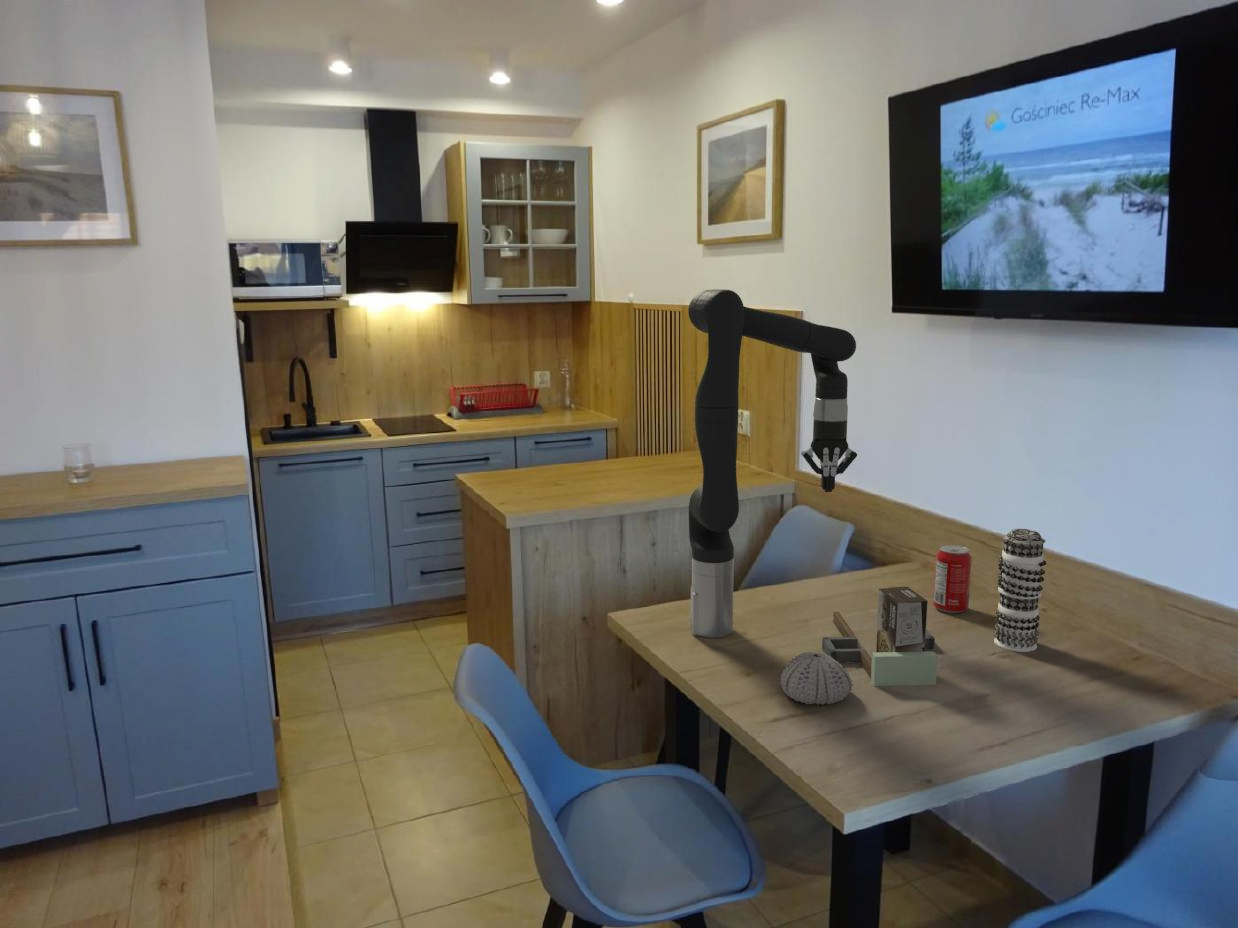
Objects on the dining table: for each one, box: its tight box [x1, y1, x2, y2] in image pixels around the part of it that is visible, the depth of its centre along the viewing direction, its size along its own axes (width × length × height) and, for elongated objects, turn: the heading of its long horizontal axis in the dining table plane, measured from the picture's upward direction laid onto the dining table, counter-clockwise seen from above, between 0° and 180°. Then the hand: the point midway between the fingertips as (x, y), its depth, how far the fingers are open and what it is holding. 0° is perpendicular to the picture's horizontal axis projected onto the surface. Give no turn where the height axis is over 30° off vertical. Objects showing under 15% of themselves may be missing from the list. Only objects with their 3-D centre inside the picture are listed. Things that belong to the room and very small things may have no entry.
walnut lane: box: [832, 611, 872, 679], centre depth 187 cm, size 11×32×2 cm, turn 1°
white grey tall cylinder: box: [993, 528, 1047, 653], centre depth 187 cm, size 9×9×25 cm
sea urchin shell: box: [780, 651, 854, 706], centre depth 167 cm, size 13×14×8 cm
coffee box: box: [875, 586, 928, 652], centre depth 176 cm, size 9×6×16 cm
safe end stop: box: [870, 651, 938, 687], centre depth 171 cm, size 12×2×6 cm, turn 90°
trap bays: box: [821, 628, 935, 664], centre depth 187 cm, size 23×13×2 cm, turn 90°
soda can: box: [932, 544, 973, 615], centre depth 208 cm, size 8×8×15 cm
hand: (827, 491), depth 205 cm, fingers closed
